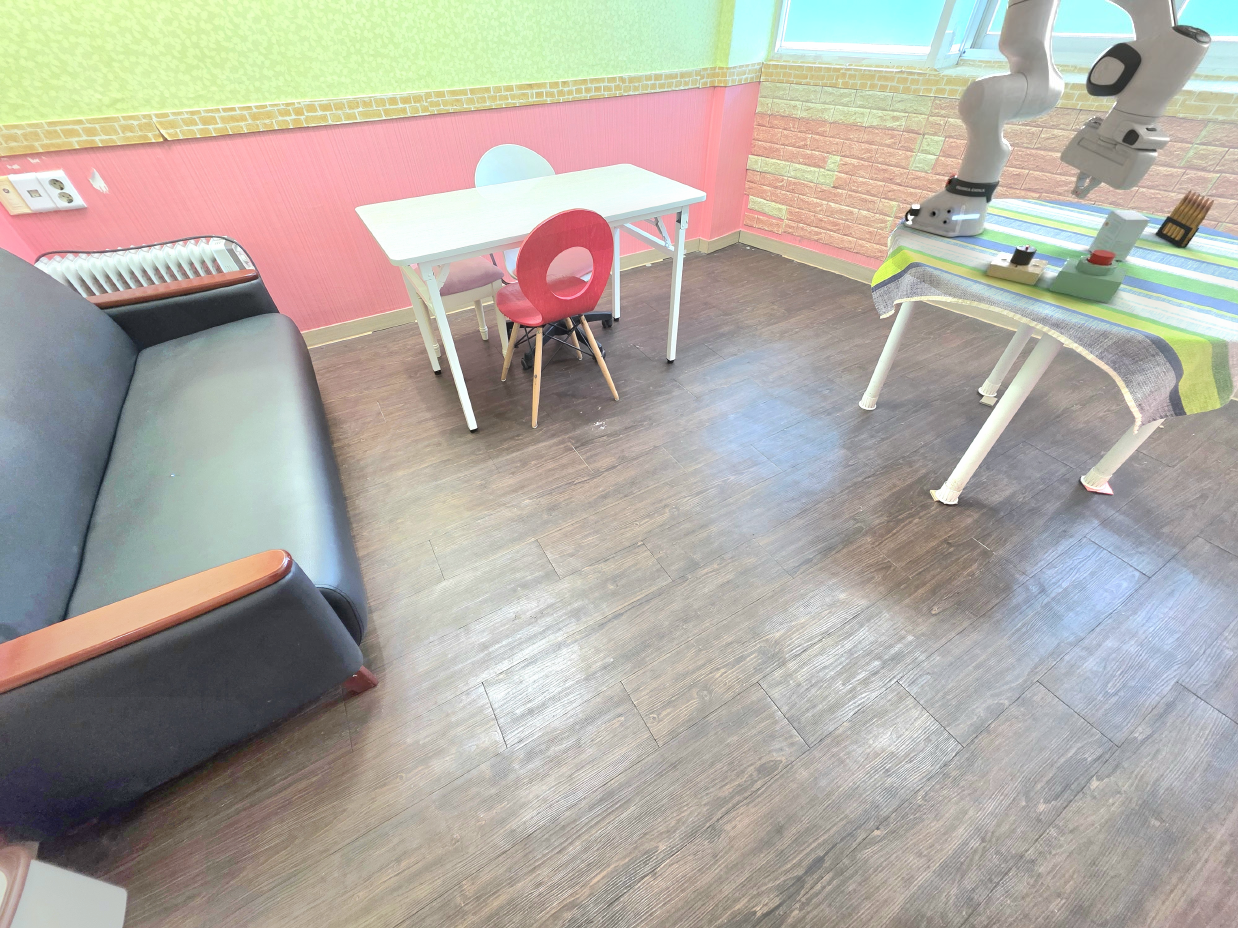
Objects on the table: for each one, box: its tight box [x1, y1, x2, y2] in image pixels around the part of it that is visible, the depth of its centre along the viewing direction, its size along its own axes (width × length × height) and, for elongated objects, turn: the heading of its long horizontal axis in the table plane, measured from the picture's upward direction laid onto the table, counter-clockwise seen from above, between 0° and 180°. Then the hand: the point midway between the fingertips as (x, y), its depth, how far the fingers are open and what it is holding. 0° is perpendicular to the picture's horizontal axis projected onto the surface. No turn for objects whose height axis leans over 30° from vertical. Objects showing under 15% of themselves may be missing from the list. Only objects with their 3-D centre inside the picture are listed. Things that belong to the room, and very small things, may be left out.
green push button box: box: [1048, 255, 1129, 304], centre depth 121 cm, size 12×10×7 cm
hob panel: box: [985, 251, 1049, 286], centre depth 130 cm, size 11×10×3 cm
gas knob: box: [1010, 244, 1038, 265], centre depth 128 cm, size 4×4×4 cm
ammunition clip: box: [1155, 189, 1215, 248], centre depth 138 cm, size 11×2×12 cm, turn 172°
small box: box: [1088, 209, 1151, 261], centre depth 133 cm, size 8×6×10 cm
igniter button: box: [1087, 250, 1116, 266], centre depth 118 cm, size 4×4×2 cm
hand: (1077, 196), depth 116 cm, fingers closed
